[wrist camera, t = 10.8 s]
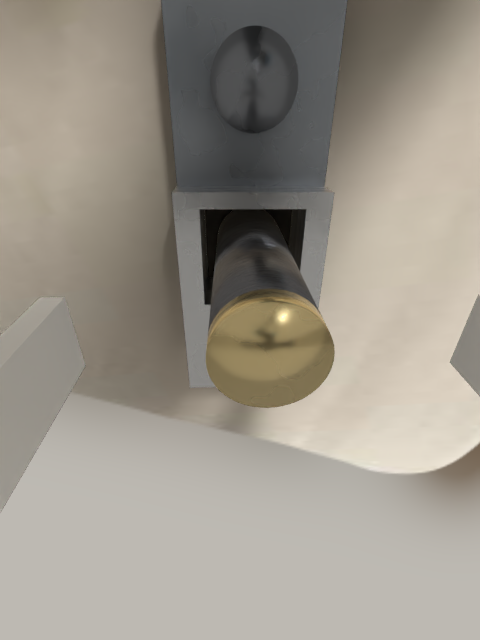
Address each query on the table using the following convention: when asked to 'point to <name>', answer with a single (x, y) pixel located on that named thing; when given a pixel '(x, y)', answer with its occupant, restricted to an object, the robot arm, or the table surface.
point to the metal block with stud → (249, 131)
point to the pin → (263, 317)
